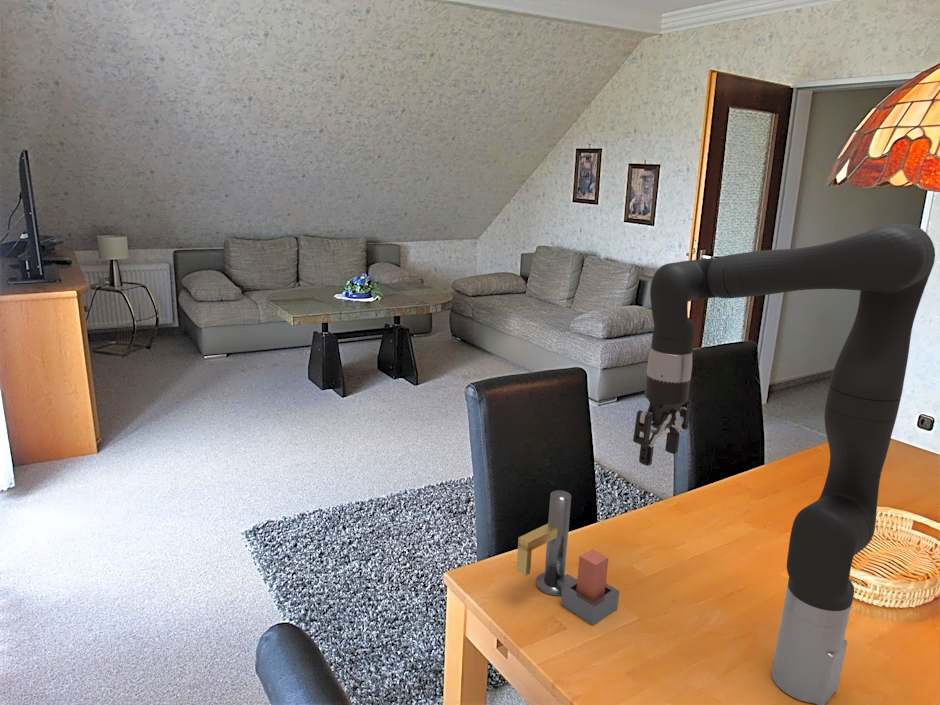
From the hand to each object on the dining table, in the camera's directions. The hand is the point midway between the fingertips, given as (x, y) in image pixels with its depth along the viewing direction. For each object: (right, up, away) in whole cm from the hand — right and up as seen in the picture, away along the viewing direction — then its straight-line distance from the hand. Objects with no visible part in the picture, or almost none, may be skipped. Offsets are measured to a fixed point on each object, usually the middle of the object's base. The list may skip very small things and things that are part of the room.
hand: (658, 458), depth 124 cm
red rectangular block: (-12, -29, +5) cm, 32 cm away
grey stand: (-17, -29, +6) cm, 34 cm away
